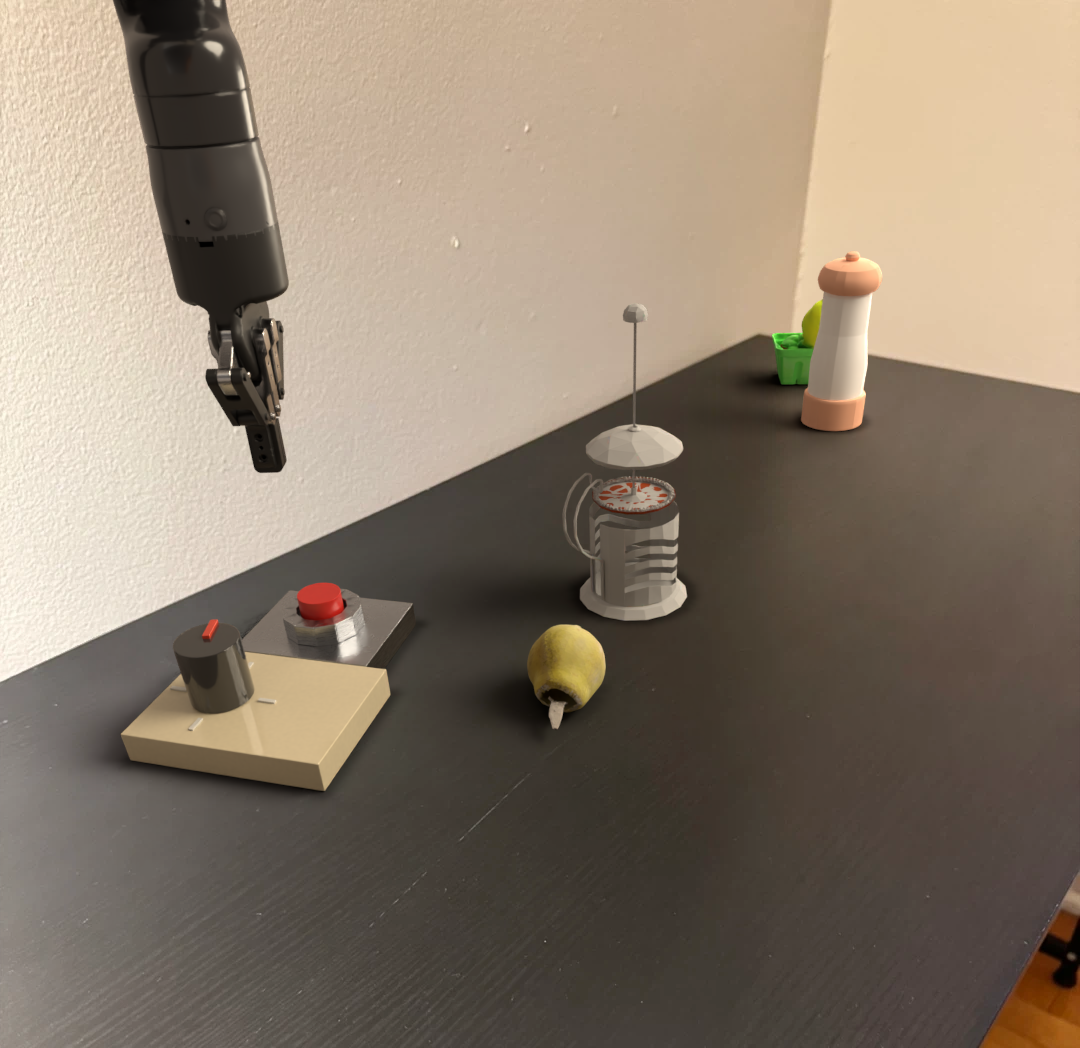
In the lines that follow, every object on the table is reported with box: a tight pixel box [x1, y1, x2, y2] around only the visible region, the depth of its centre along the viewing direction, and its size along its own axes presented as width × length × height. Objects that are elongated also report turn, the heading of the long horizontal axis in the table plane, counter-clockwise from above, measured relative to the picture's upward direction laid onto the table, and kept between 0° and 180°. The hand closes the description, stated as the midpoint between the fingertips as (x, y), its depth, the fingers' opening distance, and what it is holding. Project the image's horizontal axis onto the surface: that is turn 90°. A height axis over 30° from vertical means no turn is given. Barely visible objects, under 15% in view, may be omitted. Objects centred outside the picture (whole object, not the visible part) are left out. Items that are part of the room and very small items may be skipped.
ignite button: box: [297, 582, 344, 621], centre depth 82 cm, size 4×4×2 cm
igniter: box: [241, 588, 417, 669], centre depth 83 cm, size 12×10×4 cm
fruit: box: [526, 624, 607, 731], centre depth 75 cm, size 6×6×10 cm
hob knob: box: [172, 618, 255, 713], centre depth 73 cm, size 5×5×5 cm
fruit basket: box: [771, 298, 823, 386], centre depth 129 cm, size 11×9×11 cm
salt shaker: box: [800, 250, 883, 432], centre depth 115 cm, size 7×7×19 cm
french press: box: [562, 303, 688, 622], centre depth 81 cm, size 10×12×25 cm
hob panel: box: [120, 652, 391, 792], centre depth 75 cm, size 16×12×3 cm
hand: (271, 468), depth 75 cm, fingers closed
